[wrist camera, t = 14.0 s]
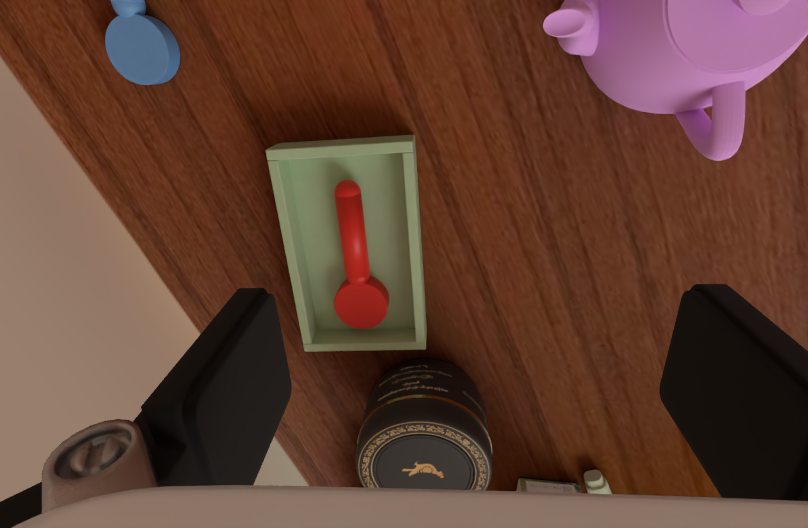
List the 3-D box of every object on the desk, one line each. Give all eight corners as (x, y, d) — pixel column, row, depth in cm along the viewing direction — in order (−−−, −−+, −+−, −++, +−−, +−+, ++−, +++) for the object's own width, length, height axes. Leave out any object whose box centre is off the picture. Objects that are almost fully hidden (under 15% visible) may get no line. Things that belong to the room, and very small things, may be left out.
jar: (350, 367, 38) (329, 436, 31) (464, 336, 36) (469, 403, 29) (393, 452, 42) (383, 531, 35) (499, 428, 40) (511, 507, 33)
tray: (277, 143, 31) (264, 149, 29) (414, 134, 30) (412, 140, 28) (312, 334, 37) (304, 351, 35) (426, 331, 36) (425, 349, 34)
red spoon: (320, 178, 31) (313, 185, 30) (377, 175, 31) (373, 181, 29) (341, 320, 36) (336, 332, 34) (391, 319, 36) (388, 331, 34)
